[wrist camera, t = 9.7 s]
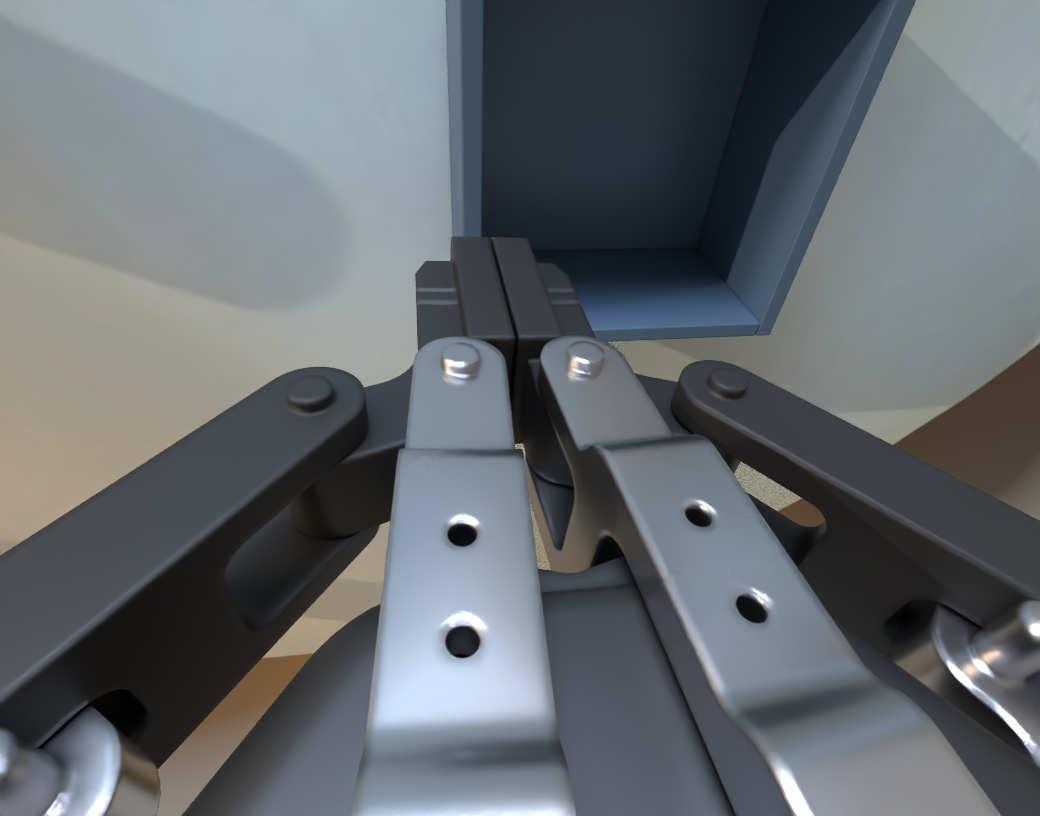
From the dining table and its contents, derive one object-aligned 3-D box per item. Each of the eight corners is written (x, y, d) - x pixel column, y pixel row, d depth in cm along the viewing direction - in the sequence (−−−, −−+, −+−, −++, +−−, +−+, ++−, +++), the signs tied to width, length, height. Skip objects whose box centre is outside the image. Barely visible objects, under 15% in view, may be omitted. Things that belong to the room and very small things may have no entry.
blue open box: (464, 348, 19) (769, 335, 21) (457, -113, 11) (948, -72, 13) (453, 258, 25) (699, 254, 26) (442, -104, 17) (798, -75, 18)
